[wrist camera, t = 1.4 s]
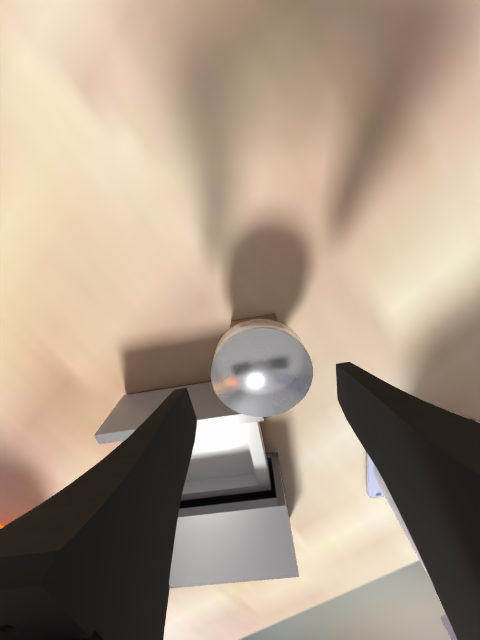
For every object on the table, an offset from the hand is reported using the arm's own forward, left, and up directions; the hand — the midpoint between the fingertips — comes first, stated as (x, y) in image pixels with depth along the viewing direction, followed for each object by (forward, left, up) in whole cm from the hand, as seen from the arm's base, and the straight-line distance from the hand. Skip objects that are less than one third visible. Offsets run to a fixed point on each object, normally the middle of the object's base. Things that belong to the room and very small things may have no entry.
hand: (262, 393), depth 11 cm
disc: (0, 0, -3) cm, 3 cm away
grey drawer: (+6, +9, -7) cm, 13 cm away
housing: (+6, +17, -7) cm, 19 cm away
